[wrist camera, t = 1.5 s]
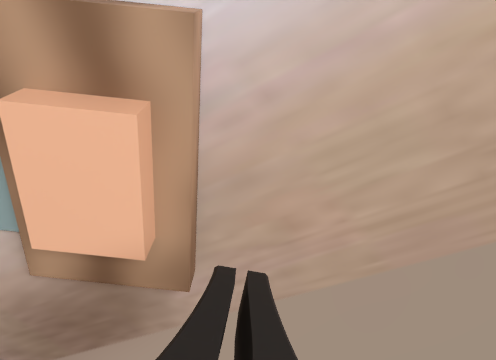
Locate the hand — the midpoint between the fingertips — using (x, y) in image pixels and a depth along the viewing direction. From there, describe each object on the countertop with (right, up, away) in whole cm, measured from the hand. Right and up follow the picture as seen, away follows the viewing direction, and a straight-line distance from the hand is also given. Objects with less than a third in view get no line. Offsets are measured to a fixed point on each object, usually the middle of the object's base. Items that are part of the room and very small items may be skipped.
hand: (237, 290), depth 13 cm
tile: (-8, +4, +6) cm, 11 cm away
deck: (-7, +5, +8) cm, 12 cm away
